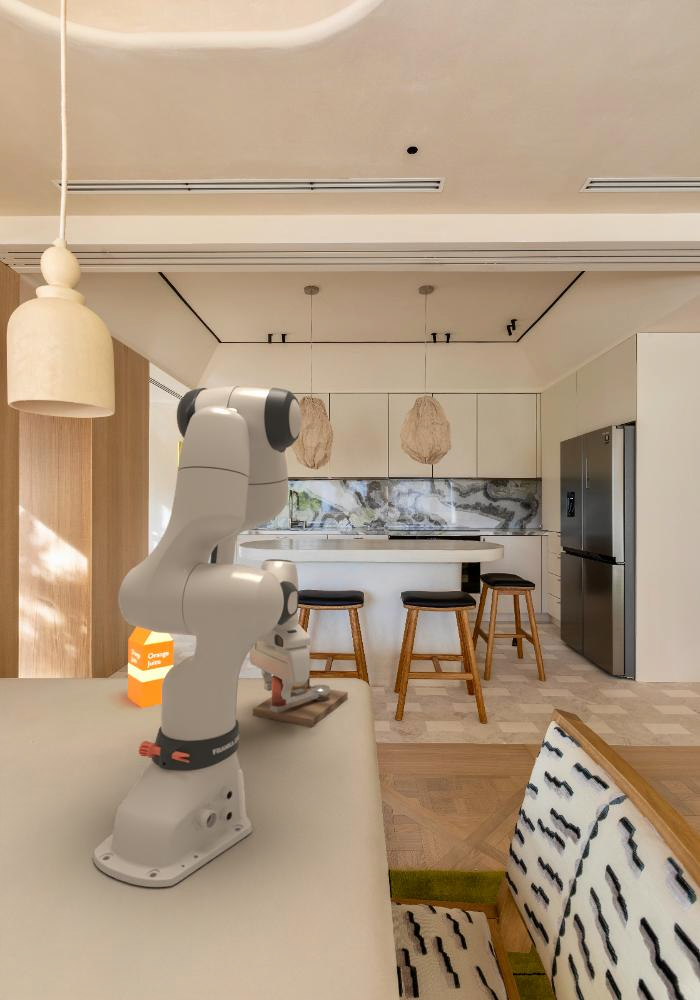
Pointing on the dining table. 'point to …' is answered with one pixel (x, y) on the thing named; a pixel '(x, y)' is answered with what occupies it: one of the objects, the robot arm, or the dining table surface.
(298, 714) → the board
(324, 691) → the lever
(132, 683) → the orange juice
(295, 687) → the wooden ball
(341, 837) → the dining table surface
